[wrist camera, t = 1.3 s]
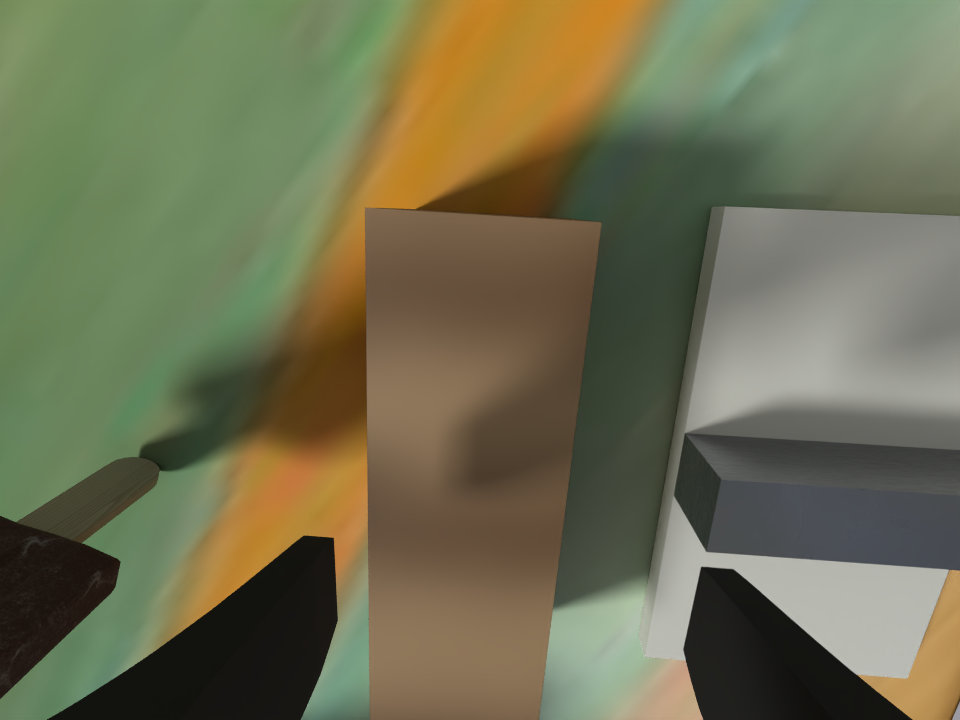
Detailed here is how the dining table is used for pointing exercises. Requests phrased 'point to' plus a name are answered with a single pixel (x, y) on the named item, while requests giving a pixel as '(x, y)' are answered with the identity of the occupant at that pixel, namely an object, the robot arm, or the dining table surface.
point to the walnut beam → (469, 452)
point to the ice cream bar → (60, 564)
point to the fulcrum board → (818, 430)
